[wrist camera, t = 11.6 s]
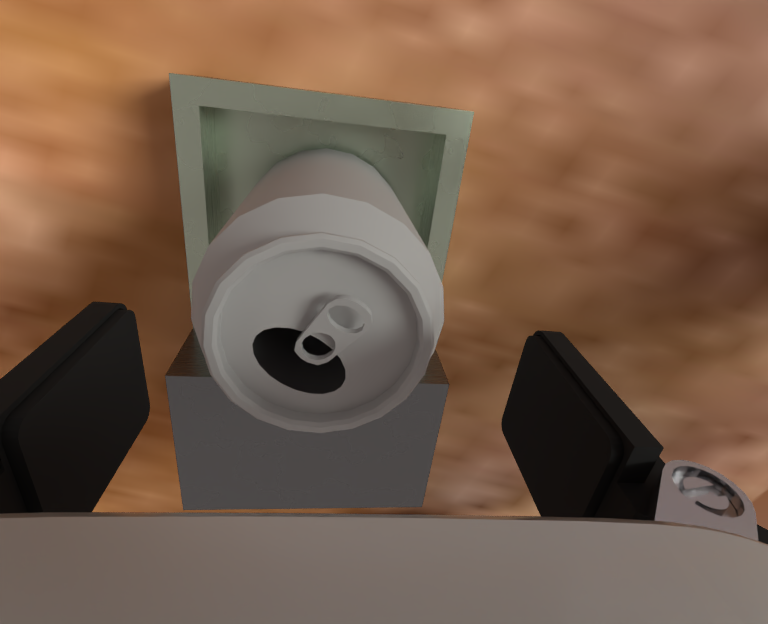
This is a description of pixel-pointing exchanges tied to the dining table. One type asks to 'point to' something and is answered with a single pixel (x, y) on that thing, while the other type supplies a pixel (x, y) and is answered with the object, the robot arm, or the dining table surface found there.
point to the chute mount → (209, 215)
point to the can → (318, 297)
